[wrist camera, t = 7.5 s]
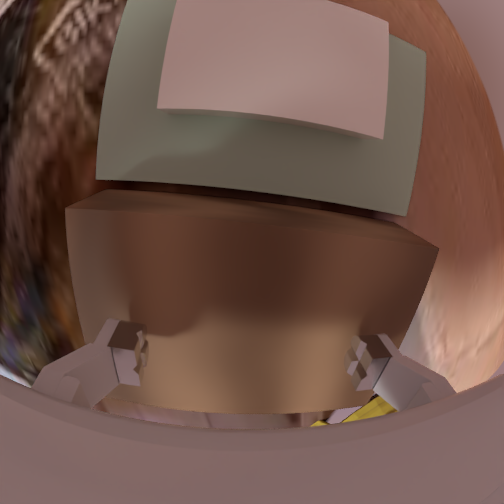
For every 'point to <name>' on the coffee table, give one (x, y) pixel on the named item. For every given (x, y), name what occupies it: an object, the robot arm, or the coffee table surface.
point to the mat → (252, 131)
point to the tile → (278, 64)
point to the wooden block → (242, 295)
